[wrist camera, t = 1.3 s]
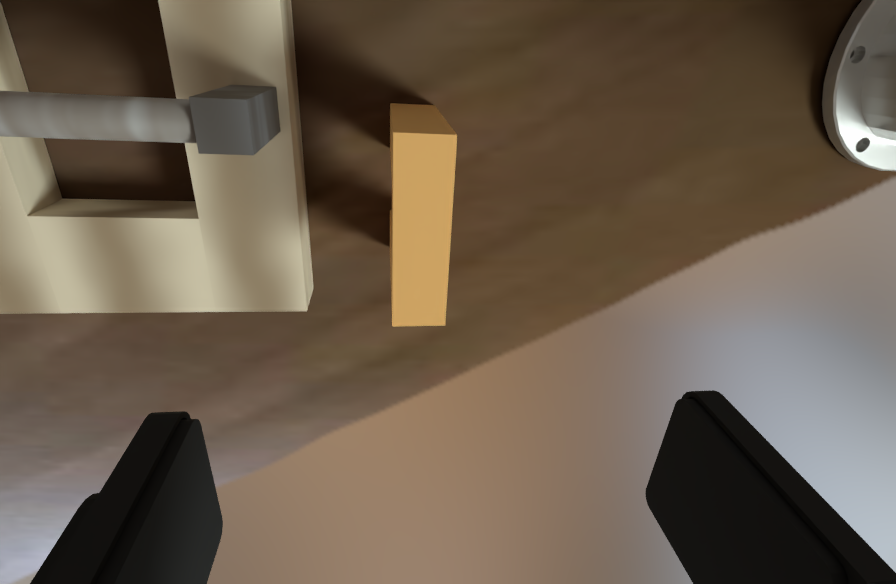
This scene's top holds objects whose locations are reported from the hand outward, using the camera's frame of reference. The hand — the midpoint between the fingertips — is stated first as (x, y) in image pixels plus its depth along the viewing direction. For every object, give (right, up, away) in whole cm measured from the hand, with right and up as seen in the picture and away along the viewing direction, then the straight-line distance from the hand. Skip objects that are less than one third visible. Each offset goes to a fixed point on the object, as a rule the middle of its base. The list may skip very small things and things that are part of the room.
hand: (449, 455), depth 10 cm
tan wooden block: (-2, +10, +19) cm, 21 cm away
